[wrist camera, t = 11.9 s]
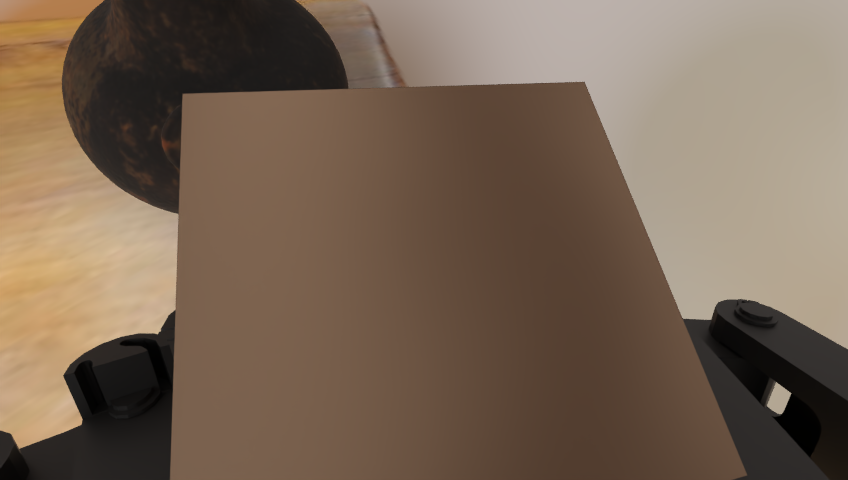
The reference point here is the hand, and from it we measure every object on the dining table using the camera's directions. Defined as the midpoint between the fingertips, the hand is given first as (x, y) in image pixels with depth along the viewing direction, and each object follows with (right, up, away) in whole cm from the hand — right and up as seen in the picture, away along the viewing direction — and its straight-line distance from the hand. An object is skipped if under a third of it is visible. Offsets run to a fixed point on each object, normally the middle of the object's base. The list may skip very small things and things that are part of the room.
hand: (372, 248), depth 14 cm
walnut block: (0, -5, +2) cm, 5 cm away
